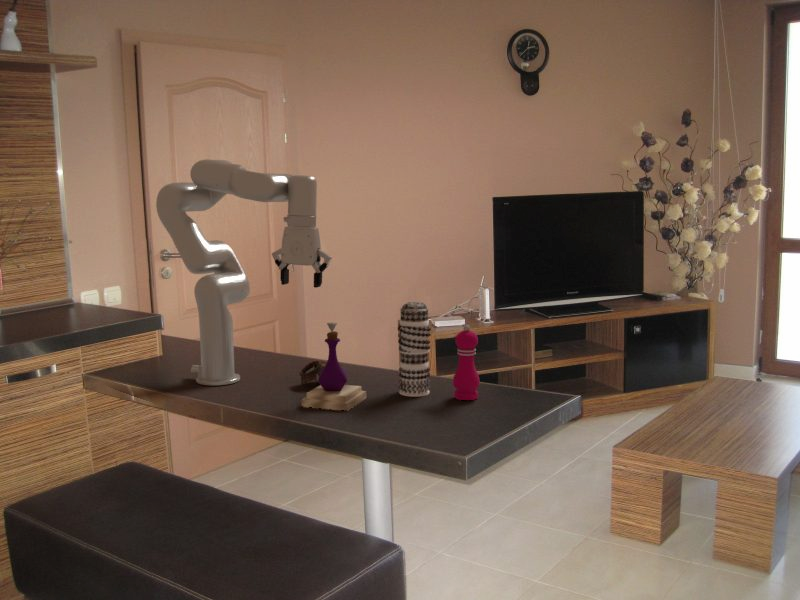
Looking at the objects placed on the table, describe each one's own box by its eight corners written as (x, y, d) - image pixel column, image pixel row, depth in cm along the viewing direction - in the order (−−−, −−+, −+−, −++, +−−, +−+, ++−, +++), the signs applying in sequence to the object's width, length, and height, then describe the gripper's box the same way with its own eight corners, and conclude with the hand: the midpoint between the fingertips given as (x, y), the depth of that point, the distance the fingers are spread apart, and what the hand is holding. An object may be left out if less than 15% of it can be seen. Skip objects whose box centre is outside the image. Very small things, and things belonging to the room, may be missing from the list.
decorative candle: (392, 395, 212) (392, 304, 209) (404, 387, 221) (404, 300, 217) (424, 398, 209) (424, 306, 206) (435, 390, 218) (435, 301, 214)
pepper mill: (482, 395, 212) (483, 323, 209) (476, 402, 205) (476, 327, 202) (456, 393, 214) (457, 322, 211) (449, 400, 207) (450, 326, 204)
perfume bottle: (319, 386, 209) (318, 320, 206) (347, 385, 209) (346, 319, 207) (318, 393, 201) (317, 324, 199) (347, 392, 202) (346, 324, 199)
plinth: (301, 406, 201) (301, 393, 201) (322, 394, 214) (322, 381, 213) (348, 411, 197) (347, 397, 197) (366, 398, 210) (366, 385, 209)
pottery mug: (336, 390, 220) (322, 367, 217) (308, 404, 221) (293, 381, 219) (341, 370, 231) (327, 348, 228) (313, 383, 233) (299, 361, 230)
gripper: (266, 221, 207) (265, 284, 210) (325, 224, 201) (324, 289, 204) (279, 219, 214) (279, 281, 217) (337, 223, 208) (336, 286, 211)
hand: (301, 285), depth 210 cm, fingers open, 9 cm apart
